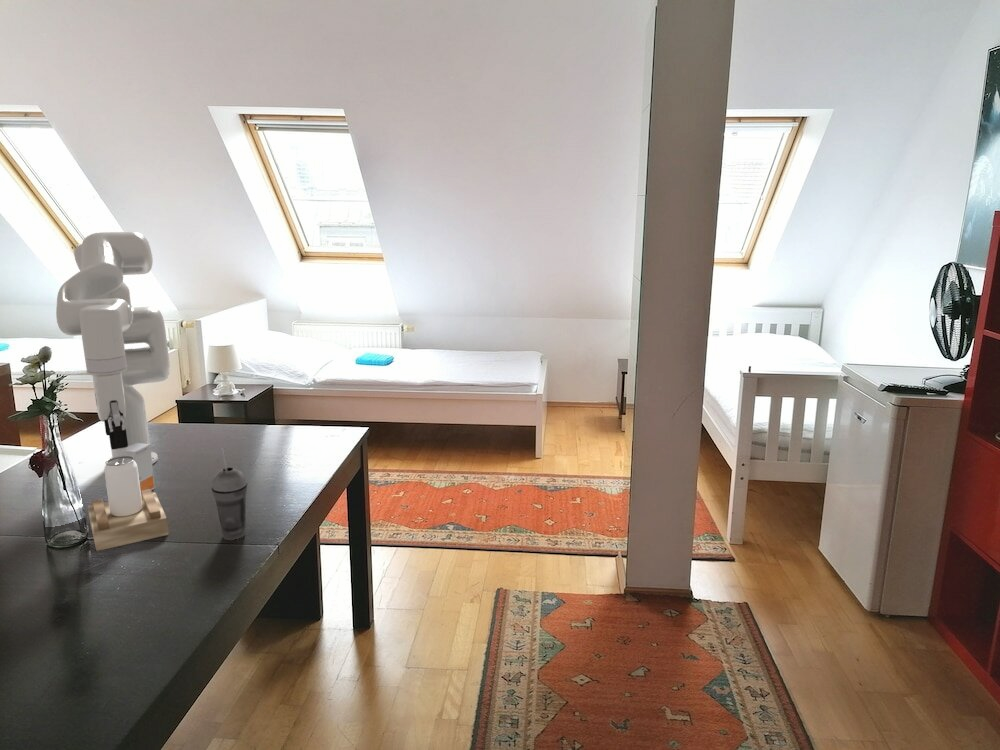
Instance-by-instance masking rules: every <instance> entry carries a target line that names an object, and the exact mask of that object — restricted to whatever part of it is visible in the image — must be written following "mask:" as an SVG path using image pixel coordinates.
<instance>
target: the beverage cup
mask: <svg viewBox="0 0 1000 750" xmlns="http://www.w3.org/2000/svg"><path fill="white" fill-rule="evenodd" d="M220 450H221V455H222V460H223V467H224V468H222V469H220V470H219V471H217V472H216V474H214V477H213V480H212V483H211V491H212V495H213V497H214V500H215V503H216V504H215V505H216V509H217V514H218V517H219V518H218V520H219V524H220V529H221V530H220V531H221V533H222V537H224V538H223V539H224V540H225V541H235V539H237V540H239V538H240V539H242V538H244V537H245V536H244V535H246V520H247V519H246V518H247V517H246V513H247V510H246V507H247V505H246V504H247V503H246V500H247V499H246V498H247V497H246V496H247V495H246V494H247V490H248V482H247V479H246V477H245V475H244V474H243V472H242V471H241V470H239V469H238V468H234V467H228V466H227V460H226V455H225V448H224V447H221V448H220ZM243 536H244V537H243ZM241 537H242V538H241Z"/></svg>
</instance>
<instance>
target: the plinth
mask: <svg viewBox="0 0 1000 750" xmlns="http://www.w3.org/2000/svg"><path fill="white" fill-rule="evenodd" d="M141 498H142V509H141V511H140V512H138V513H136V514H134V515H131V516H126V517H116V516H113V515H112V514H111V513H110V509H109V502H108V501H106V502H104V501H103V498H102V497H101V498H97V499H92V500H91V503H92V504H91V505H87V512H88V519H89V524H90V529H91V533H92V537H93V538H92V539H93V541H94V547H95V550H96V552H100V551H103V550H107V549H112V548H117V547H121V546H126V545H129V544H133V543H134V544H135V543H138V542H143V541H146V540H151V539H155V538H160V537H163V536H169V525H168V519H167V515H166V513H165V511H164V509H163V507H162V504H161V502H160V500H159V498H158V495H157V492H153V490H151V489H147V490H142V491H141Z"/></svg>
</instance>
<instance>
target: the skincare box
mask: <svg viewBox="0 0 1000 750" xmlns="http://www.w3.org/2000/svg"><path fill="white" fill-rule="evenodd" d="M151 452H152V450H151V443H150V444H143V443H135V444H133V445H130V446H128V447H126V448H125V449H123V450H121V451H120V456H131V457H134V461H135V462H136V464H137V467H138V474H139V482H140V490H141V491H142V490H147V489H151V491H153V490H155V488H156V486H155V476H154V468H153V467H154V466H153V464H152V457H151Z"/></svg>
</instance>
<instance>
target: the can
mask: <svg viewBox="0 0 1000 750" xmlns="http://www.w3.org/2000/svg"><path fill="white" fill-rule="evenodd" d="M110 458H111V459H110ZM110 458H109V459H107V460H106V461H105V465H104V469H103V470H104V479H105V480H104V481H105V487H106V493H107V502H109V509H110V513H111V514H112V515H113V516H116V517H126V516H131V515H134V514H136V513H138V512H140V511H141V509H142V498H141V490H140V482H139V474H138V467H137V464H136V462H135V461H134V457H131V456H119V457H114V458H112V457H110Z"/></svg>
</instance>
